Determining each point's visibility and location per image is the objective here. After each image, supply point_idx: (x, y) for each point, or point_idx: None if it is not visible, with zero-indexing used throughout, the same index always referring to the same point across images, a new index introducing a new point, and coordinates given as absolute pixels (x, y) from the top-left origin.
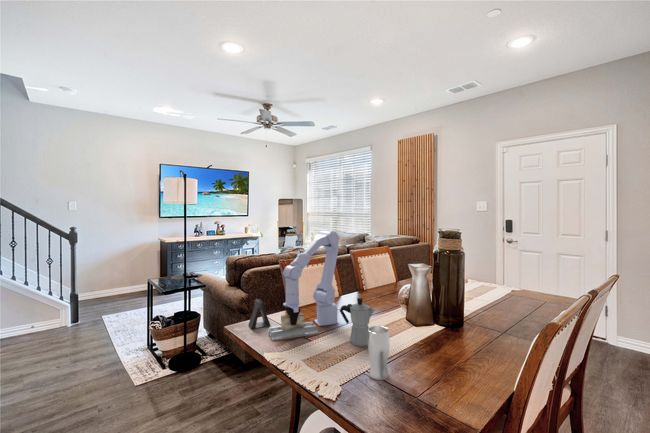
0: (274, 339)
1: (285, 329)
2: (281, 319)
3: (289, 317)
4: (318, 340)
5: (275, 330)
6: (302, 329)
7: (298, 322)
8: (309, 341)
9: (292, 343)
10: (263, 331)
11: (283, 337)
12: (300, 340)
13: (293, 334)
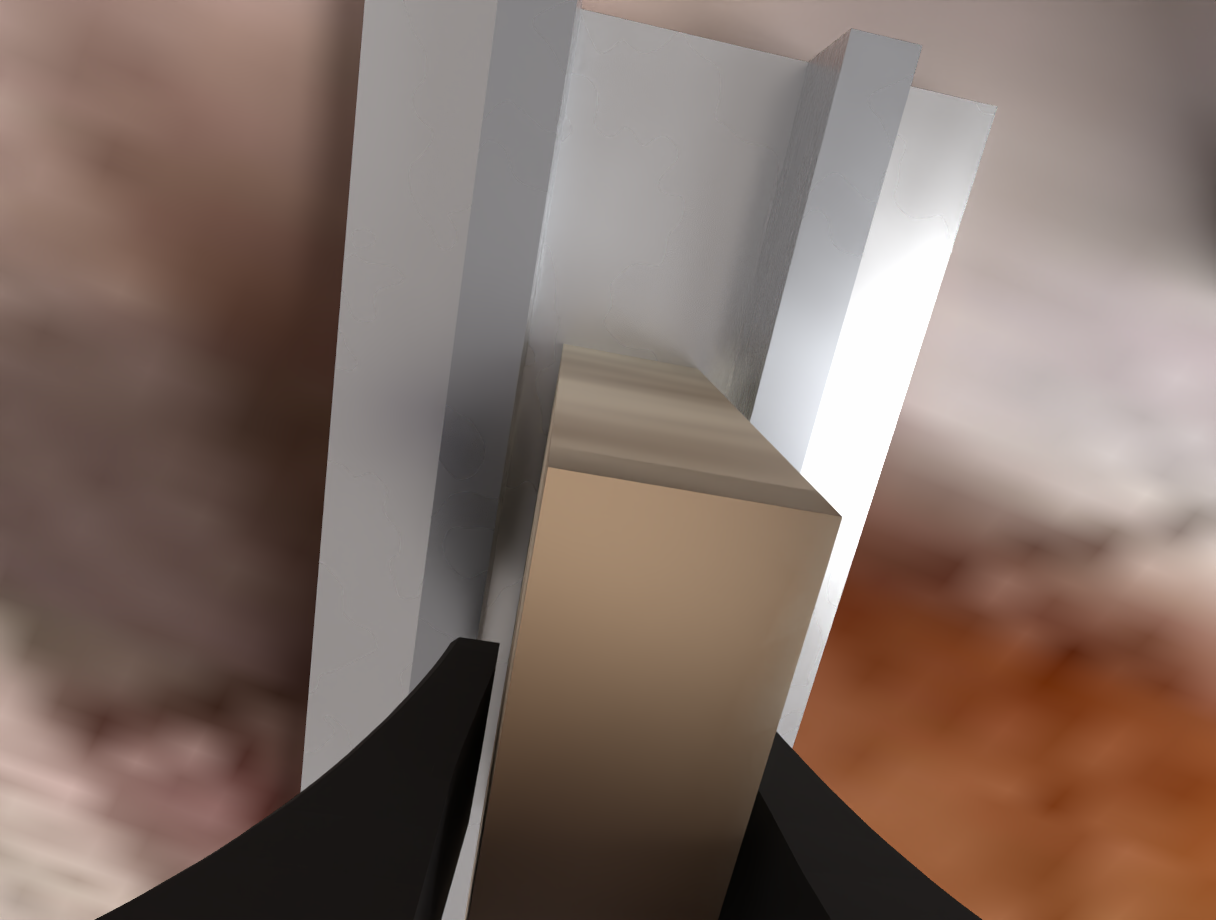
0: (368, 47)
1: (502, 436)
2: (684, 446)
3: (494, 769)
4: (34, 835)
5: (771, 232)
6: None
7: (476, 855)
8: (45, 697)
9: (66, 382)
10: (1081, 4)
11: (343, 290)
12: (156, 576)
13: (375, 545)
